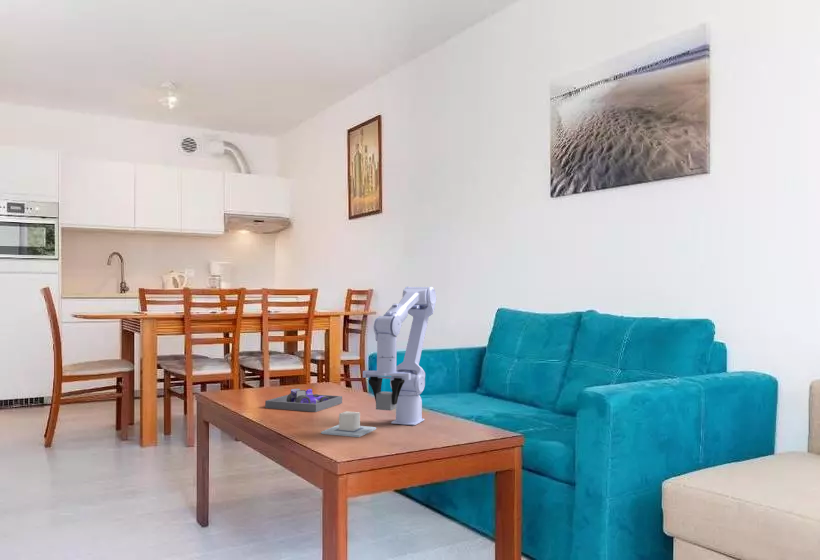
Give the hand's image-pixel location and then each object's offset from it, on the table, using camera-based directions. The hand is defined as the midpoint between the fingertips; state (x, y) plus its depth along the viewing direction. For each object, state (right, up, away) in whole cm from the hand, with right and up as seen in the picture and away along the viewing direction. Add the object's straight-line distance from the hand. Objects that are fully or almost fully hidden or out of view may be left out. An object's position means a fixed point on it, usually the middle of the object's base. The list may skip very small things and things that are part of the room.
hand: (386, 403), depth 192 cm
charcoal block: (0, -2, 0) cm, 2 cm away
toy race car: (-29, -10, +43) cm, 53 cm away
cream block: (-11, -7, 0) cm, 13 cm away
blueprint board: (-11, -8, 0) cm, 14 cm away
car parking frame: (-31, -9, +43) cm, 54 cm away
